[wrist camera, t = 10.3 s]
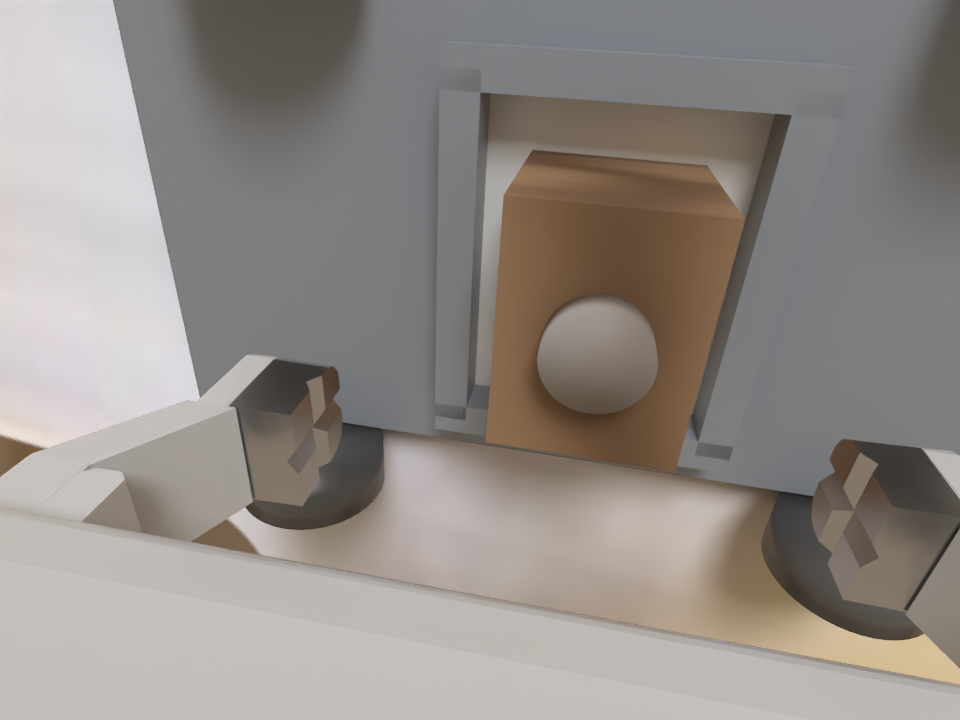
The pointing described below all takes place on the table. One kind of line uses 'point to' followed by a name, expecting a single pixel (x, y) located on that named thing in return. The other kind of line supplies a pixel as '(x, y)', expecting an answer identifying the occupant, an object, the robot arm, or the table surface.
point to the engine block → (607, 305)
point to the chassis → (579, 130)
